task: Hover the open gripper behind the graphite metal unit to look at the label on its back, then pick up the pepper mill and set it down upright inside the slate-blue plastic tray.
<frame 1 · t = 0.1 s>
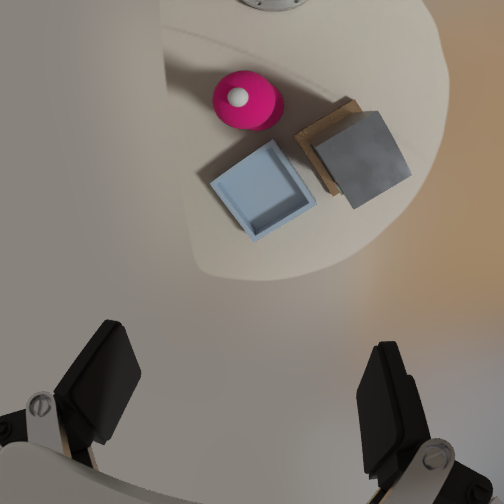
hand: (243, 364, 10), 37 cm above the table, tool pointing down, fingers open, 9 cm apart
parts tray: (264, 189, 44), on the table
pepper mill: (260, 106, 39), on the table
control unit: (343, 147, 40), on the table
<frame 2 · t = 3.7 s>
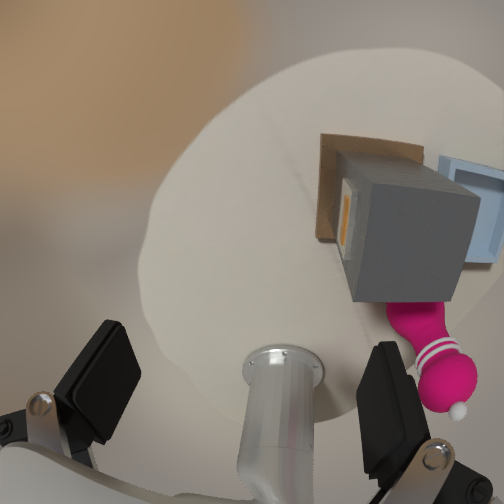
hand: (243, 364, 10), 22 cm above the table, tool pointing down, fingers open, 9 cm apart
parts tray: (468, 209, 27), on the table
pepper mill: (403, 284, 33), on the table
control unit: (369, 189, 28), on the table
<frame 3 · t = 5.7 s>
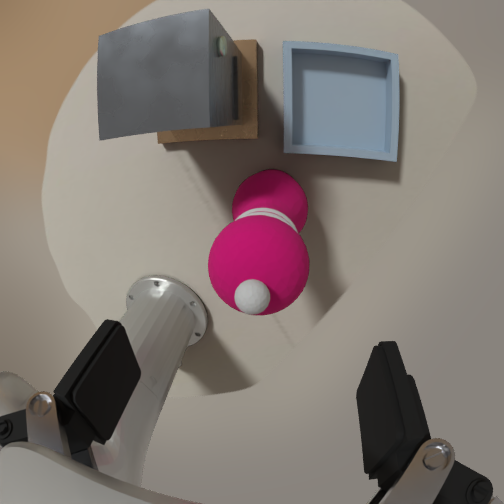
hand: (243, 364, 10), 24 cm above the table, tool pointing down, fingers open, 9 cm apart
parts tray: (339, 100, 26), on the table
pepper mill: (272, 196, 32), on the table
control unit: (206, 91, 27), on the table
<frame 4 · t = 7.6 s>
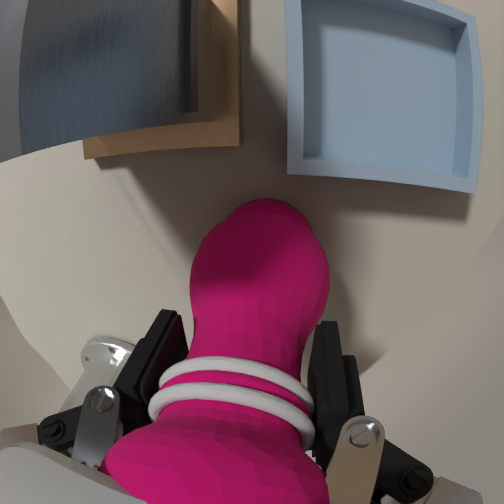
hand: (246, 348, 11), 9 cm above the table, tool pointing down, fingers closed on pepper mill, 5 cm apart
parts tray: (383, 81, 13), on the table
pepper mill: (267, 243, 19), on the table, touching gripper
control unit: (154, 68, 15), on the table
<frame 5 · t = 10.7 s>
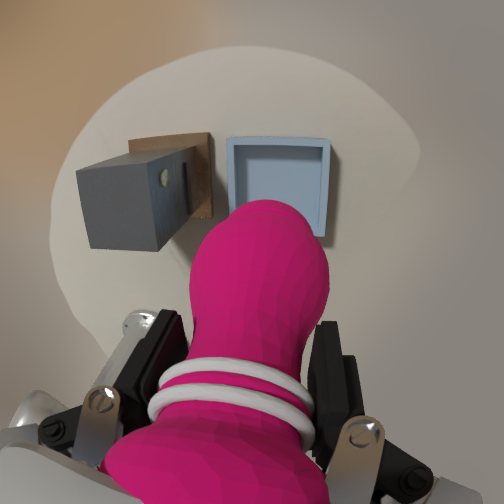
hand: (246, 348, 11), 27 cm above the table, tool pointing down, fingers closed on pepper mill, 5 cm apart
parts tray: (278, 183, 35), on the table
pepper mill: (267, 243, 19), point 18 cm above the table, touching gripper
control unit: (171, 176, 36), on the table
when the fingers open (12 cm above the table, at t = 13.9 s): pepper mill drops 2 cm, resting on parts tray.
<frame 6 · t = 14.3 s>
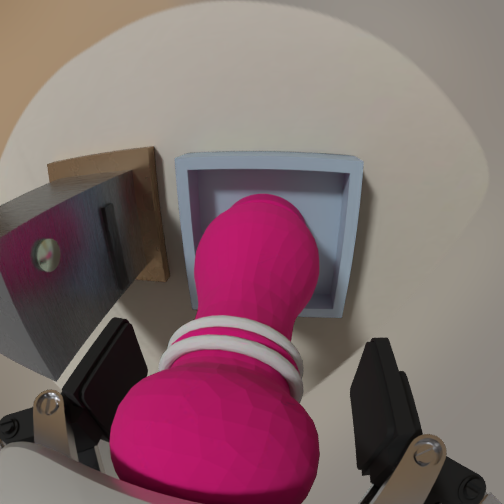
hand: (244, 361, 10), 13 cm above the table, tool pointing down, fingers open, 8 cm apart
parts tray: (269, 230, 21), on the table
pepper mill: (264, 233, 21), resting on parts tray
control unit: (105, 216, 22), on the table
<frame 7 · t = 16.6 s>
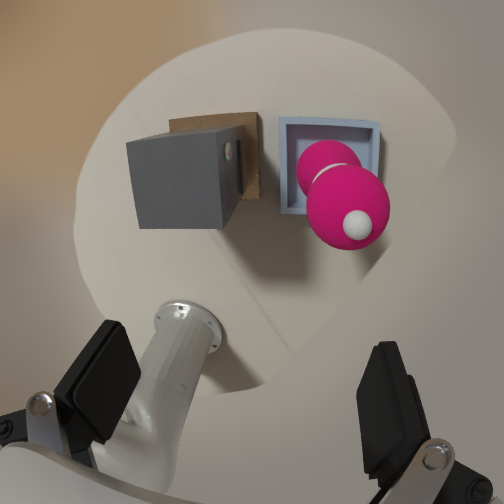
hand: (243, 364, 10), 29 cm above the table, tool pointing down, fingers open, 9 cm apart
parts tray: (327, 164, 33), on the table
pepper mill: (325, 165, 33), resting on parts tray
control unit: (215, 156, 35), on the table
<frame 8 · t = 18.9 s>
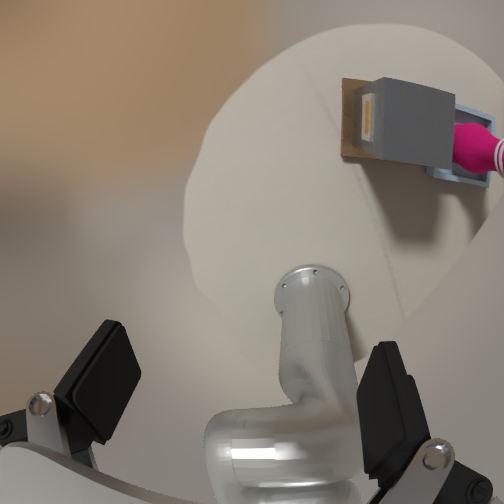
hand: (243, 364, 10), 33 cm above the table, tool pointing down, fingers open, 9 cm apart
parts tray: (458, 143, 33), on the table
pepper mill: (458, 143, 32), resting on parts tray
control unit: (379, 120, 34), on the table
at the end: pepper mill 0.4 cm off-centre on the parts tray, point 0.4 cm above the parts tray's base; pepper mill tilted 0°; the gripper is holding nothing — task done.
